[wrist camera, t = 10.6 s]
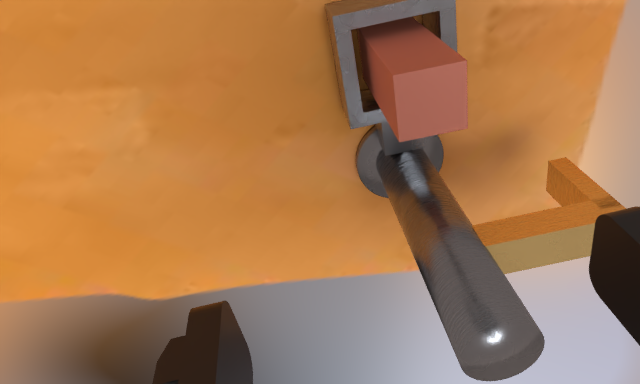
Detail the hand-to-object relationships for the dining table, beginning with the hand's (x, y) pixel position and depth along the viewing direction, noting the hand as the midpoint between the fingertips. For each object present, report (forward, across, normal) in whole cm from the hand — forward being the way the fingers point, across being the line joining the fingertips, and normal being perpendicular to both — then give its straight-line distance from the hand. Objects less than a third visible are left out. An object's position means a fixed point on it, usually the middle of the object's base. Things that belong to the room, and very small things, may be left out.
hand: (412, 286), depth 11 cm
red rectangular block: (+27, -5, +4) cm, 27 cm away
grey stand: (+27, -8, +8) cm, 29 cm away
